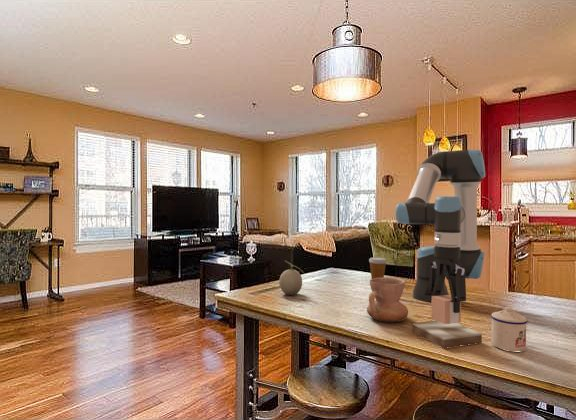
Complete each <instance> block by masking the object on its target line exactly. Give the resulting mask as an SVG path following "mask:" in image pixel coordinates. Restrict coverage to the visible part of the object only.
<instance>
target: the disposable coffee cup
mask: <svg viewBox="0 0 576 420" xmlns="http://www.w3.org/2000/svg"><path fill="white" fill-rule="evenodd" d="M368 262H369V267H370V277H371V279H374V278H383V277H385V272H386V263H387V258H385V257H378V256H377V257H370V258H369V259H368Z"/></svg>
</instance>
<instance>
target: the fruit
mask: <svg viewBox="0 0 576 420" xmlns="http://www.w3.org/2000/svg"><path fill="white" fill-rule="evenodd" d="M284 262H285V263H287V264H288V265H290V268H289V269H286V270H284V271H283V272H282V273H281V274H280V277H279V280H278V281H279V287H280V289H281V292H282V293H283V294H285V295H287V296H295V295H297V294H299V293H300V291H301V289H302V287H303V277H302V274H300V272H299V271H297V270H296V269H294V268H297V269H298V270H300V271H301V272H302V273H303V274H305V272H304V271H303V270H302V269H301V268H300V267H298V266H296V265H294V264H292V263H291V262H288V261H287V260H284Z"/></svg>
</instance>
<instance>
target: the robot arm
mask: <svg viewBox="0 0 576 420" xmlns="http://www.w3.org/2000/svg"><path fill="white" fill-rule="evenodd" d="M416 176H417V177H416V179H415V181H414V184H413V187H412V188H411V190H410V193H409V195H408V198H407V200H406V202H399V203H398V204H397V205H396V207H395V219H396V221H397V223H398V224H405V225H406V224H407V225H426V226H427V225H429V226H430V225H431V226H434V238H433V239H434V241H433V242H434V244H435V245H430V246H428V245H427V246H422V247H418V249H417V257H416V281H415V284H414V287H413V290H412V297H413V299H416V300H419V301H422V302H429V303H432V296H441V295H448V296H451V298H452V300H451V301H450V323H458V324H460V323H459V313H460V302H461V303H462V302H466V301H467V288H466V286H467V285H466V284H467V283H466V279H467V280H469V279H471V280H477V279H480V278H481V276H482V273H483V267H484V262H485V261H484V260H485V252H484V251H481V250H482V249H481V246H480V245H479V243H477V242H478V238H477V236H478V232H477V231H478V229H477V228H478V224H477V223H478V186H479V185H480V184H481V183H482V179H484V178H485V177H486V165H485V160H484V154H483V153H482V151H481V150H480V149H461V150H449V151H448V150H446V151H445V150H444V151H439V152H436V153H434V154H432V155H430V156H428V157H427V158H425V159H424V160H423V161H422V162H421V164H420V165H418V168H417V170H416ZM442 179H443V180H444V179H445V180H447V179H448V180H450V181H449V183H450V184H451V185H452V186H453V187H454V188H453V196H437V197H436V198H434V202H433V203H432V202H430V200H431V199H432V195H433V191H434V188H435V186H436V183H438V182H439V181H440V180H442ZM446 280H447V283H448V287H449V290H448V288H447V284H446ZM449 292H450V293H449Z"/></svg>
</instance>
